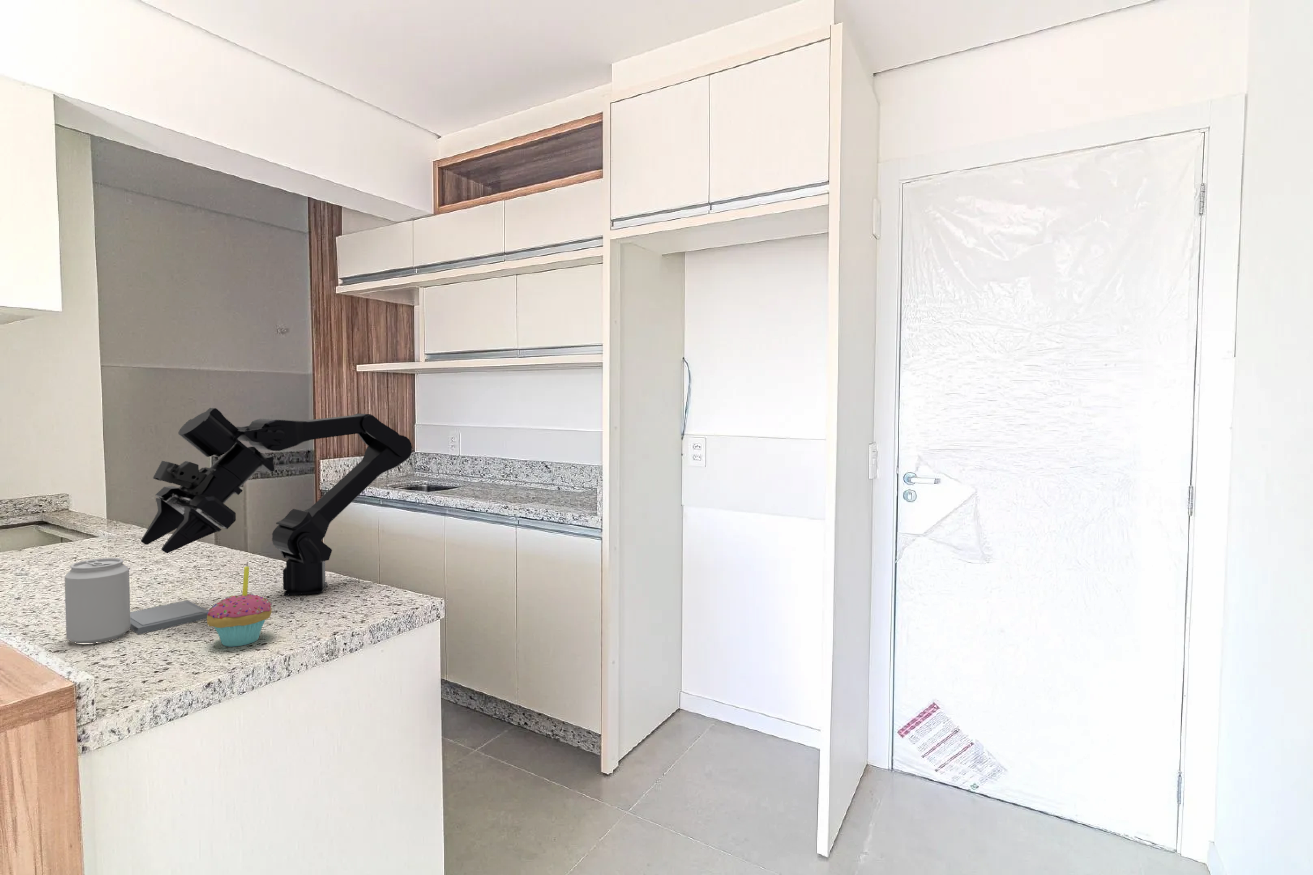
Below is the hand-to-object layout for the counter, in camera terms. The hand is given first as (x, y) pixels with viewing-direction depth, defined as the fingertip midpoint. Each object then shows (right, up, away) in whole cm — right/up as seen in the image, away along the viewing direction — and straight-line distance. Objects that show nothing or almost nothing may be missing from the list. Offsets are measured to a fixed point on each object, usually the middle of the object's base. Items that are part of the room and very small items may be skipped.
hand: (153, 547), depth 104 cm
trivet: (-1, -13, +3) cm, 13 cm away
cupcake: (+18, -14, -5) cm, 23 cm away
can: (-4, -13, -5) cm, 15 cm away
